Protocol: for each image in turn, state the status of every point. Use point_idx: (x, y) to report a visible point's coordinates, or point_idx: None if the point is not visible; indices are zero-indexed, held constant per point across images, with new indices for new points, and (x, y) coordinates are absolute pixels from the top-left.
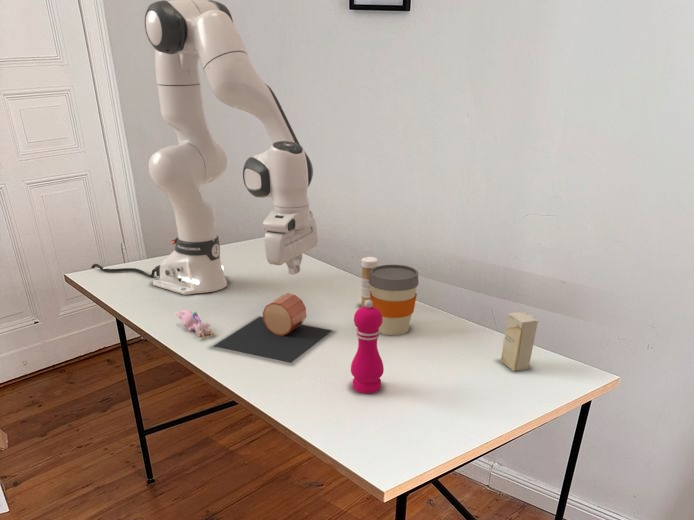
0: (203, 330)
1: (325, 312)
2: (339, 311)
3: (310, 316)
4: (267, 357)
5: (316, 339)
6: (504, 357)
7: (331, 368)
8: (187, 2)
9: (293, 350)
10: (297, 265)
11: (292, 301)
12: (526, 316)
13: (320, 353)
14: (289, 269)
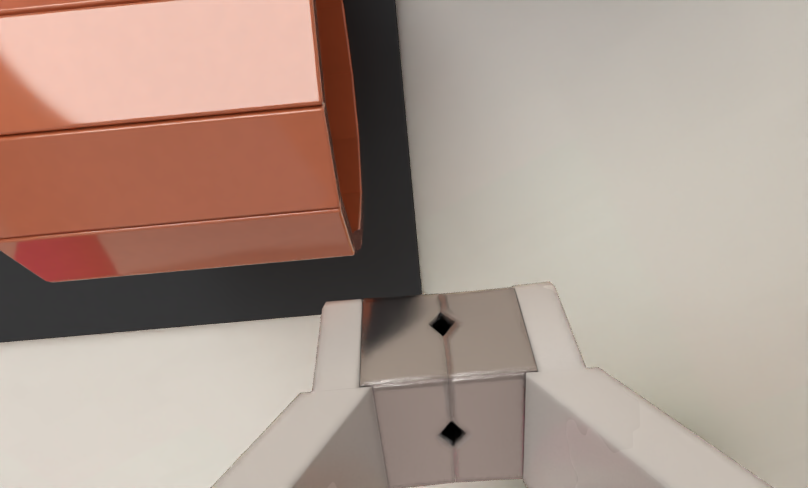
0: None
1: (752, 83)
2: (801, 160)
3: (625, 26)
4: None
5: (244, 302)
6: None
7: (44, 480)
8: None
9: (14, 282)
10: (523, 457)
11: (205, 247)
12: None
13: (129, 383)
14: (321, 373)
